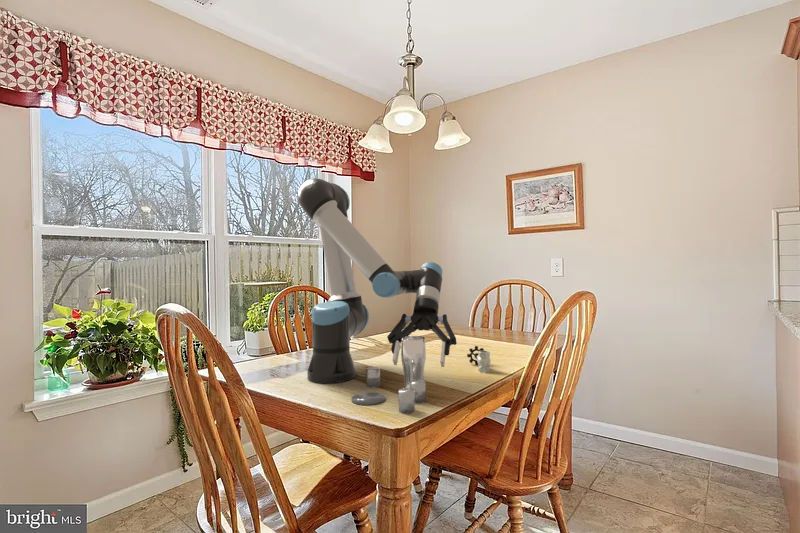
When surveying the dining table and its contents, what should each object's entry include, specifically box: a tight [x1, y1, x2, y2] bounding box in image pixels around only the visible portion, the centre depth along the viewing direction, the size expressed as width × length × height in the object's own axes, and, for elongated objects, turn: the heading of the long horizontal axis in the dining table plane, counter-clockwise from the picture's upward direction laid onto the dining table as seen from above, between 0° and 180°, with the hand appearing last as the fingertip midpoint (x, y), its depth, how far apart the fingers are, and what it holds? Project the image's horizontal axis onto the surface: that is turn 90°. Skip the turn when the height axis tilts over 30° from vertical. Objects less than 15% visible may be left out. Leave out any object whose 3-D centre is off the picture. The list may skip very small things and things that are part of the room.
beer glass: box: [400, 335, 427, 388], centre depth 123 cm, size 7×7×15 cm
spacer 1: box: [365, 366, 381, 388], centre depth 130 cm, size 4×4×5 cm
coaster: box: [350, 391, 386, 406], centre depth 116 cm, size 9×9×1 cm
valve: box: [466, 345, 491, 374], centre depth 148 cm, size 7×7×12 cm
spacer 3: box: [410, 379, 427, 404], centre depth 115 cm, size 4×4×5 cm
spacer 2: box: [397, 388, 416, 415], centre depth 107 cm, size 4×4×5 cm
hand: (418, 363), depth 123 cm, fingers open, 13 cm apart
